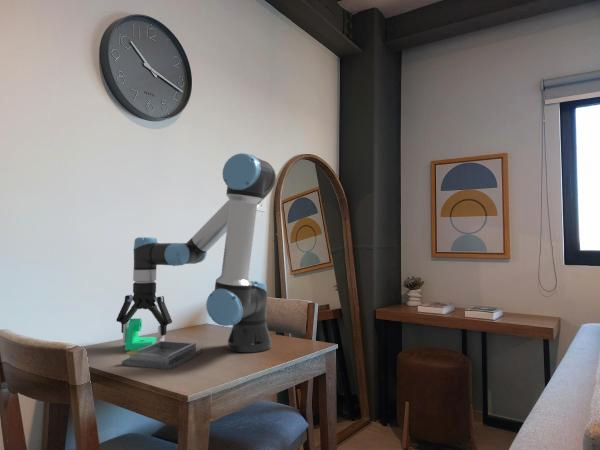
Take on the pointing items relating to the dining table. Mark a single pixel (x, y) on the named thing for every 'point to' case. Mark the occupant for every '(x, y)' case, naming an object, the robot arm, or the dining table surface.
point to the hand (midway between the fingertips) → (143, 343)
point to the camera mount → (137, 336)
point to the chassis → (162, 355)
